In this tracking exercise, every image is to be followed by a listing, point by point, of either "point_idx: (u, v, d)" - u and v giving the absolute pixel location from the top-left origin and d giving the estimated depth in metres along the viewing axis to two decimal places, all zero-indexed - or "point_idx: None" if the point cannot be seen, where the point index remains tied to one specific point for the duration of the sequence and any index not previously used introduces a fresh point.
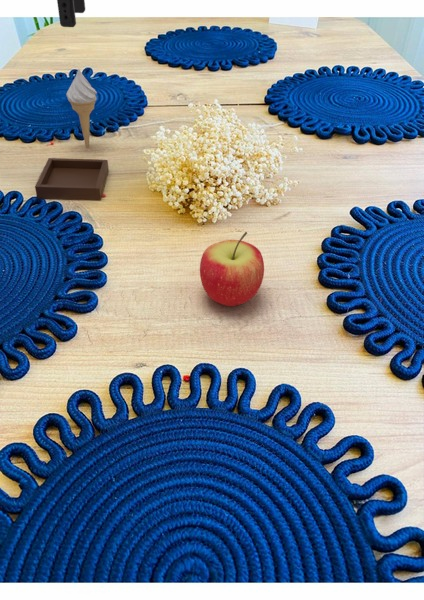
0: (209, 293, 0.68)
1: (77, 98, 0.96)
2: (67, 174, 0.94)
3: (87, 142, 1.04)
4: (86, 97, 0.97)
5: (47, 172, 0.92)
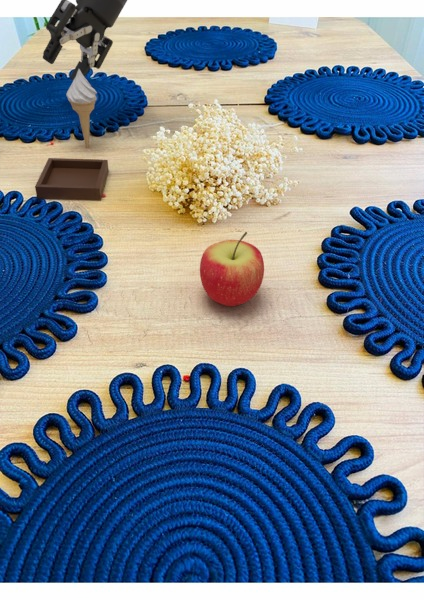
0: (209, 293, 0.68)
1: (77, 98, 0.96)
2: (67, 174, 0.94)
3: (87, 142, 1.04)
4: (86, 97, 0.97)
5: (47, 172, 0.92)
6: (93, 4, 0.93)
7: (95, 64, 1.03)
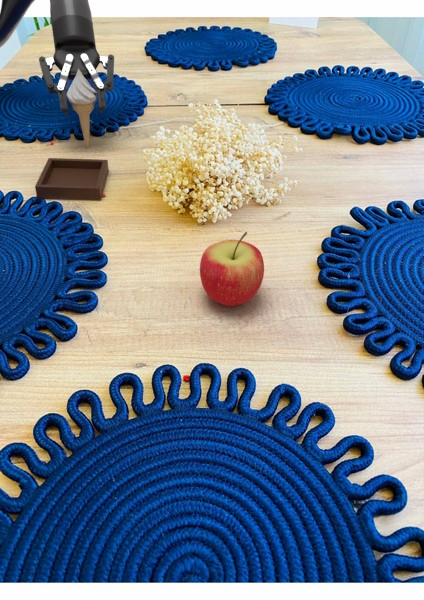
0: (209, 293, 0.68)
1: (77, 98, 0.96)
2: (67, 174, 0.94)
3: (87, 142, 1.04)
4: (86, 97, 0.96)
5: (47, 172, 0.92)
6: (56, 39, 0.97)
7: (106, 83, 0.99)
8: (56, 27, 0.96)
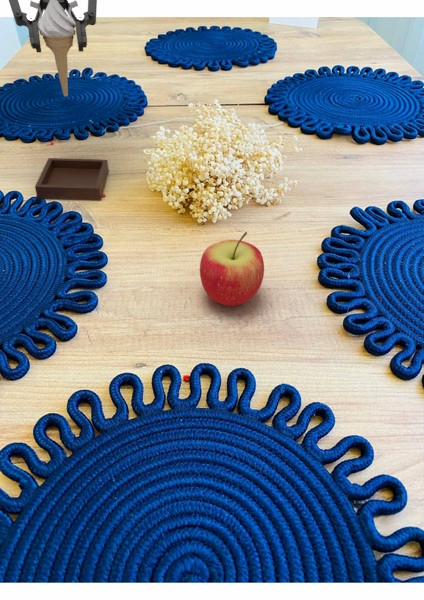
0: (209, 293, 0.68)
1: (50, 30, 0.78)
2: (67, 174, 0.94)
3: (65, 89, 0.85)
4: (62, 29, 0.78)
5: (47, 172, 0.92)
6: None
7: (87, 14, 0.81)
8: None
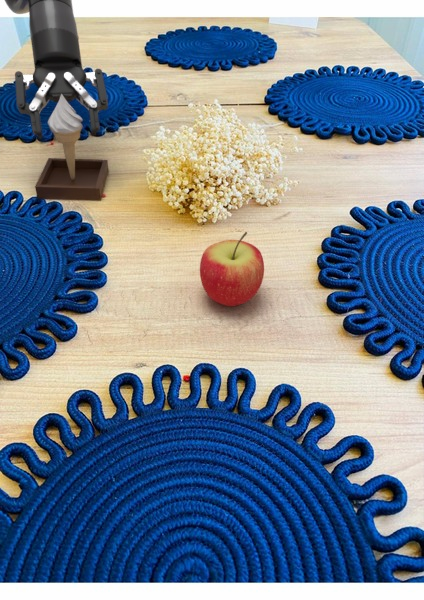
0: (209, 293, 0.68)
1: (60, 127, 0.84)
2: (67, 174, 0.94)
3: (72, 174, 0.92)
4: (70, 126, 0.85)
5: (47, 172, 0.92)
6: (35, 55, 0.84)
7: (100, 102, 0.87)
8: (36, 42, 0.84)
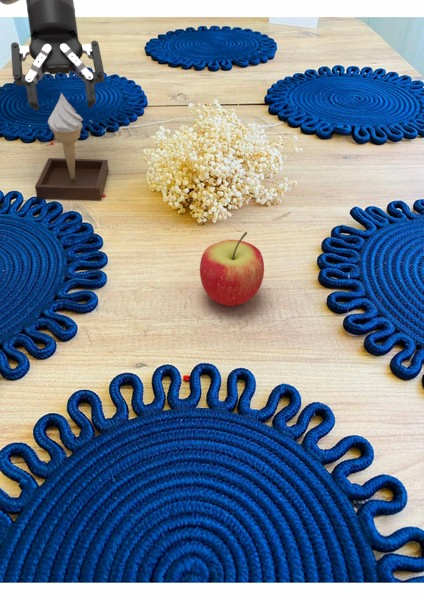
0: (209, 293, 0.68)
1: (60, 126, 0.84)
2: (67, 174, 0.94)
3: (72, 174, 0.92)
4: (70, 125, 0.85)
5: (47, 172, 0.92)
6: (31, 26, 0.84)
7: (96, 74, 0.87)
8: (32, 13, 0.84)
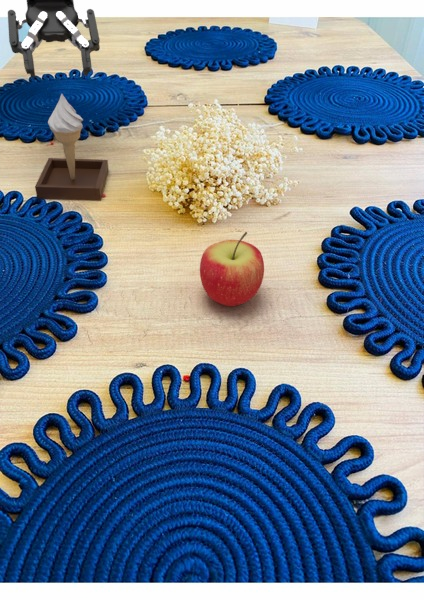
0: (209, 293, 0.68)
1: (60, 127, 0.84)
2: (67, 174, 0.94)
3: (72, 174, 0.92)
4: (70, 126, 0.85)
5: (47, 172, 0.92)
6: None
7: (92, 41, 0.88)
8: None
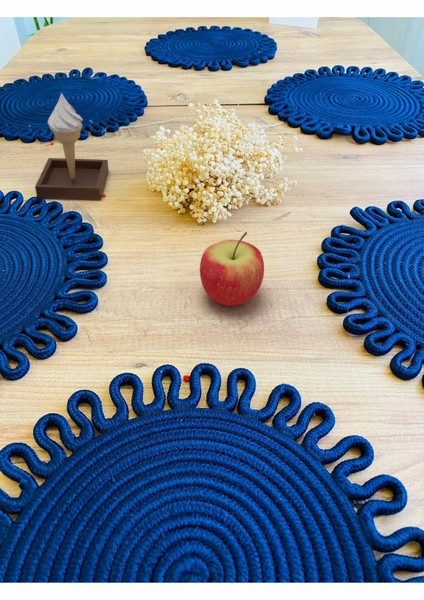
0: (209, 293, 0.68)
1: (60, 127, 0.84)
2: (67, 174, 0.94)
3: (72, 174, 0.92)
4: (70, 125, 0.85)
5: (47, 172, 0.92)
6: None
7: None
8: None
